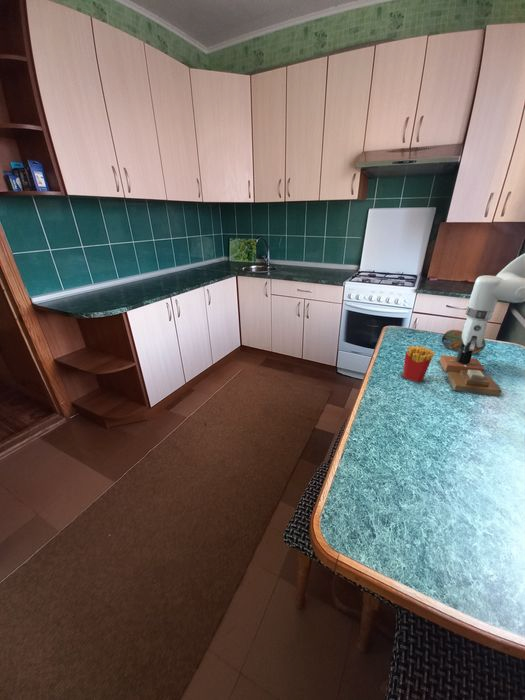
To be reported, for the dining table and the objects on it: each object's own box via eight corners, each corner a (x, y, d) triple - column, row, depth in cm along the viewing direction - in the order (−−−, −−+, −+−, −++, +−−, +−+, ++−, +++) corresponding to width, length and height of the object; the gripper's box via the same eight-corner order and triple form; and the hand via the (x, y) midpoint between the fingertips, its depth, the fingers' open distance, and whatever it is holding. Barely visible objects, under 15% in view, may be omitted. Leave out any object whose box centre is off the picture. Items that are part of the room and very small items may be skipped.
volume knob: (455, 358, 110) (459, 345, 108) (467, 360, 109) (472, 347, 106) (456, 362, 107) (461, 349, 105) (469, 365, 106) (474, 351, 103)
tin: (439, 347, 126) (444, 329, 122) (440, 344, 128) (445, 326, 124) (481, 356, 118) (488, 337, 114) (481, 353, 120) (488, 334, 116)
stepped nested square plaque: (487, 381, 101) (491, 371, 100) (499, 396, 94) (503, 385, 92) (446, 376, 105) (449, 367, 103) (454, 390, 97) (457, 380, 95)
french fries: (399, 376, 105) (406, 347, 100) (402, 372, 108) (409, 343, 102) (425, 384, 101) (434, 353, 95) (427, 378, 103) (436, 349, 98)
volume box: (473, 365, 112) (476, 357, 110) (482, 376, 104) (485, 368, 103) (439, 361, 114) (441, 354, 113) (445, 372, 107) (447, 364, 106)
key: (478, 375, 99) (480, 370, 98) (482, 380, 96) (484, 376, 95) (466, 373, 99) (468, 369, 99) (470, 379, 96) (472, 374, 96)
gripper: (497, 322, 91) (478, 372, 99) (487, 307, 105) (471, 351, 113) (469, 319, 94) (453, 367, 102) (463, 304, 108) (449, 348, 116)
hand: (463, 359), depth 108 cm, fingers closed on volume knob, 4 cm apart
